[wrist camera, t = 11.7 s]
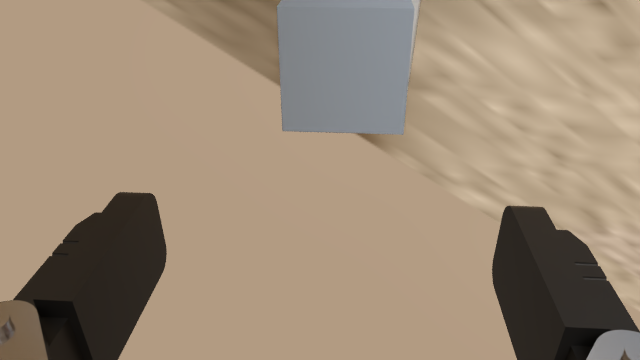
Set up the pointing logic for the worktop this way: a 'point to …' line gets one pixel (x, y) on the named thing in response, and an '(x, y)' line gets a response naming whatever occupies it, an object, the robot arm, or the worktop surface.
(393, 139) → the worktop surface
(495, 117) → the worktop surface
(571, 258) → the robot arm
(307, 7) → the blue block
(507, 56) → the worktop surface
